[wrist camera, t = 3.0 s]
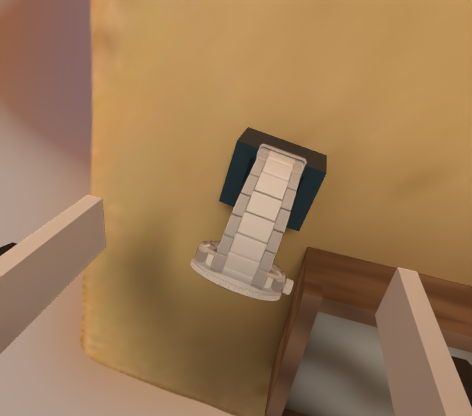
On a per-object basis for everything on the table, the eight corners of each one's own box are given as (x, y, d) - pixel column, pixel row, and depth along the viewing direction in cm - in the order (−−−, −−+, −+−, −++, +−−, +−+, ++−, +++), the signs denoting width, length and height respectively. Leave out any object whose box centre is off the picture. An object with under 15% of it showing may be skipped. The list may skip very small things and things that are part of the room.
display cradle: (307, 246, 26) (303, 292, 21) (490, 291, 24) (528, 351, 19) (272, 369, 33) (263, 423, 29) (409, 410, 31) (423, 474, 27)
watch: (223, 204, 26) (163, 306, 16) (256, 101, 22) (201, 157, 12) (293, 230, 25) (273, 350, 16) (339, 130, 21) (348, 213, 12)
